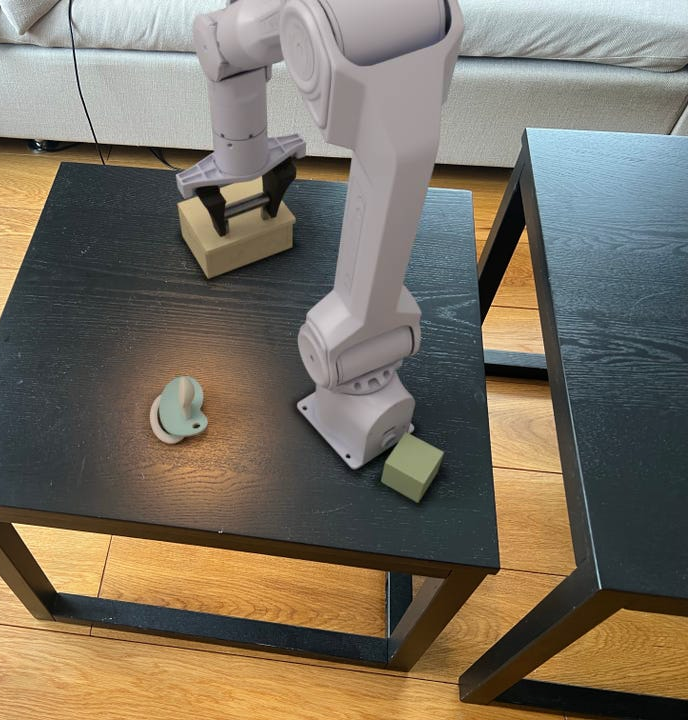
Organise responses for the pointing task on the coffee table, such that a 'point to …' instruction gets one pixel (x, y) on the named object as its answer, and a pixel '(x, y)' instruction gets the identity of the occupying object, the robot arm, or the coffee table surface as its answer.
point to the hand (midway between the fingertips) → (245, 221)
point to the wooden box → (236, 249)
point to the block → (411, 467)
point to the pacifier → (178, 410)
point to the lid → (236, 216)
